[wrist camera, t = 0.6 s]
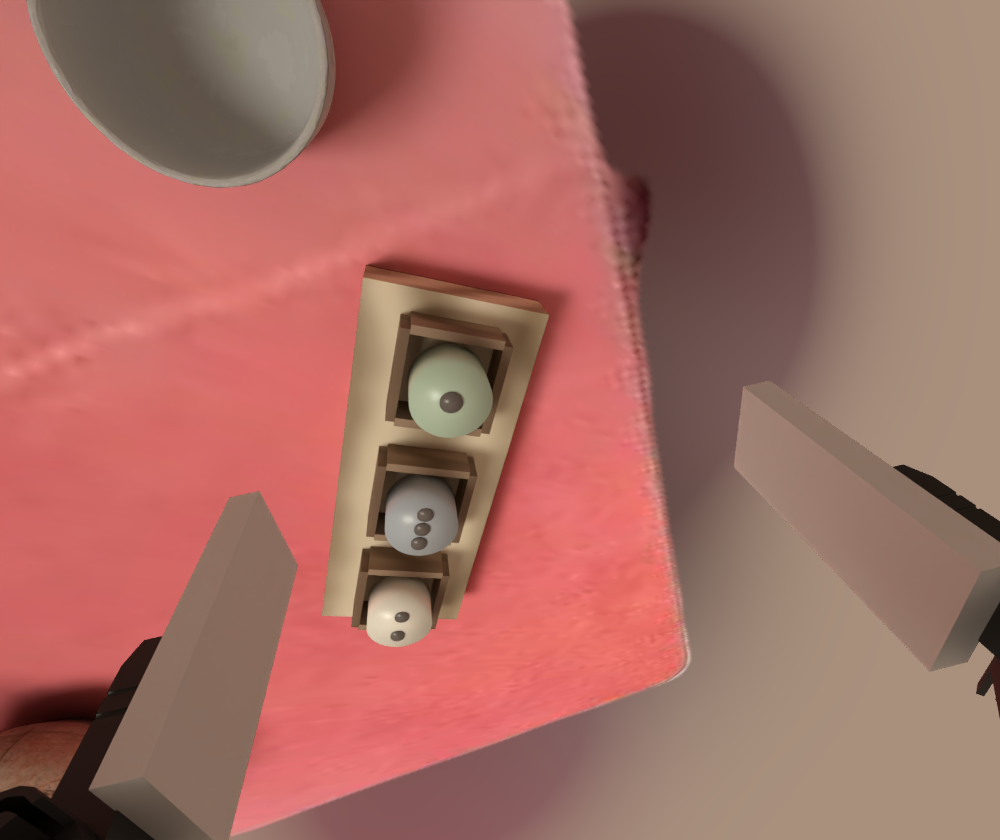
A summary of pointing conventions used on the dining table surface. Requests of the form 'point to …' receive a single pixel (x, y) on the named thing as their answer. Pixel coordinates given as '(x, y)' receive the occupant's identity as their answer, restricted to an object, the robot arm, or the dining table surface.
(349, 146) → the dining table surface
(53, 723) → the cooking pot
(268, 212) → the dining table surface
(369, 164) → the dining table surface
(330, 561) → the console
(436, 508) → the button three
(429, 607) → the button two
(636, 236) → the dining table surface
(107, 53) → the teacup
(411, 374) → the button one
